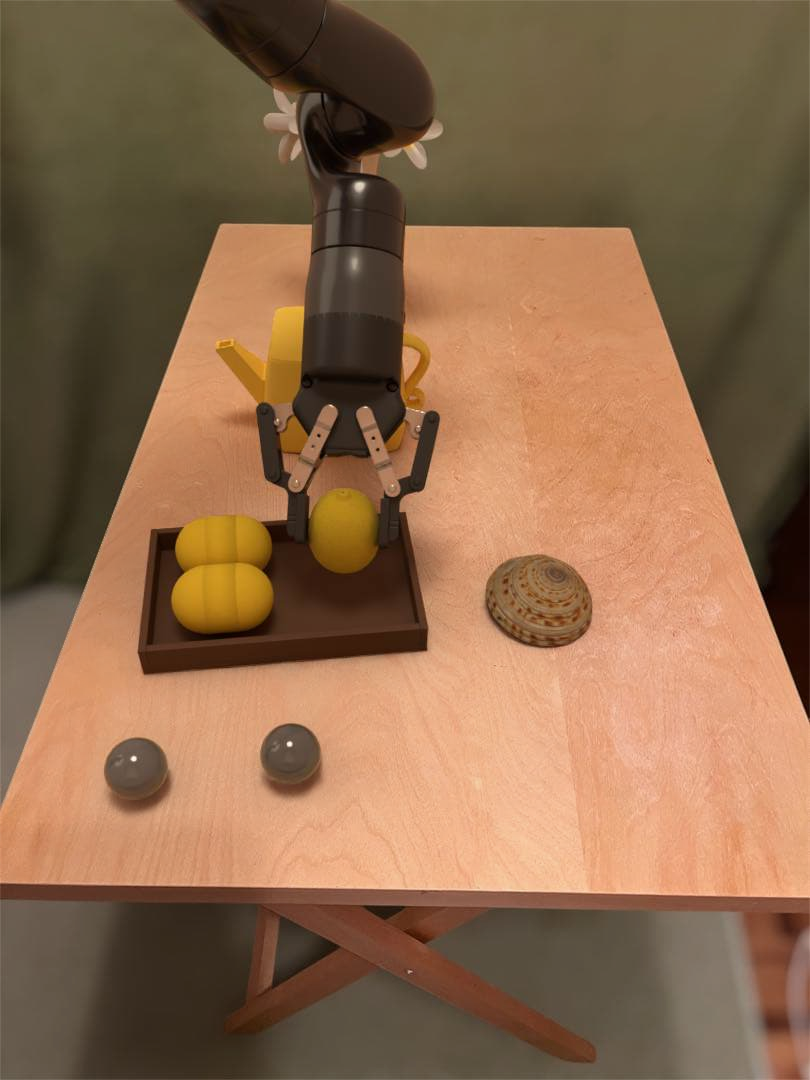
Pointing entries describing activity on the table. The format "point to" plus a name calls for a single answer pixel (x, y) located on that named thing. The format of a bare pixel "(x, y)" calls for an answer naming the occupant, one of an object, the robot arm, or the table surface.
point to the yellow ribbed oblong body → (222, 598)
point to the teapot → (283, 373)
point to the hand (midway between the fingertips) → (342, 545)
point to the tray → (290, 609)
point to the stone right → (290, 753)
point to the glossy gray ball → (135, 768)
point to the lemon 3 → (344, 530)
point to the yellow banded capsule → (223, 542)
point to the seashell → (539, 600)
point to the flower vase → (369, 165)
